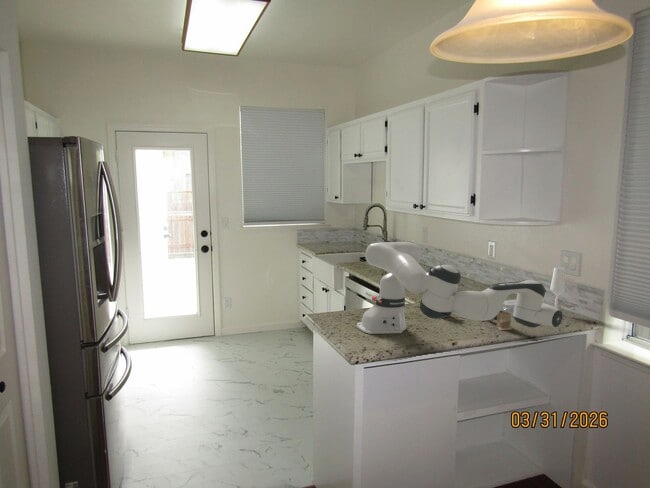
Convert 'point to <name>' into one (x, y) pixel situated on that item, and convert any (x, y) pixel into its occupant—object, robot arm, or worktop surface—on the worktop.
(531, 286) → the robot arm
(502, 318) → the stand
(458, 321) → the worktop surface
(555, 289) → the champagne flute
